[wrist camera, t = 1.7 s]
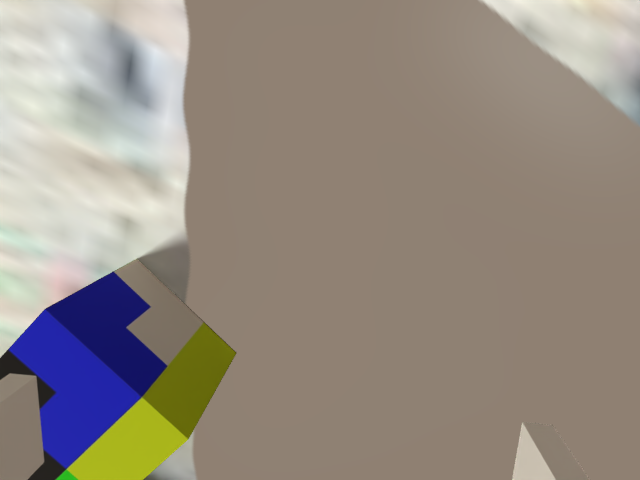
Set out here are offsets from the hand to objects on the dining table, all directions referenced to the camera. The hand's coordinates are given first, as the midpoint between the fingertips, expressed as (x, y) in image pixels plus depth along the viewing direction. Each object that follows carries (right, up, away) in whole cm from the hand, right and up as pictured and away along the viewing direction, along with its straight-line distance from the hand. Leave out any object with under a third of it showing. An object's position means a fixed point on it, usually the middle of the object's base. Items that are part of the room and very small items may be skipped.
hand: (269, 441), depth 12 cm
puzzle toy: (-12, -3, +22) cm, 25 cm away
